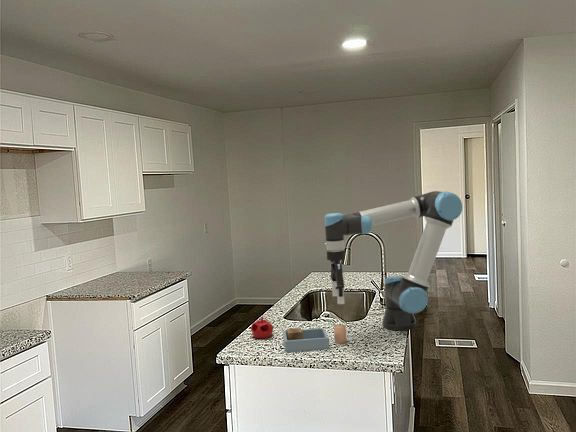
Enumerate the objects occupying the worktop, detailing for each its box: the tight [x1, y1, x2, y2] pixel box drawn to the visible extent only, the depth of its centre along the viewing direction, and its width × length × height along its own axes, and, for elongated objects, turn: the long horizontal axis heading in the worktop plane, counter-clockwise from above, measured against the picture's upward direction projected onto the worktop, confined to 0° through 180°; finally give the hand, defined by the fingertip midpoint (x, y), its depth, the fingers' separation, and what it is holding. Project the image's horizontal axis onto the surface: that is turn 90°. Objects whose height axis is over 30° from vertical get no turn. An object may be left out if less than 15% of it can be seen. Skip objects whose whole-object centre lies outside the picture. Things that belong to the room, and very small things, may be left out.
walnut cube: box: [286, 327, 303, 340], centre depth 218 cm, size 6×6×6 cm
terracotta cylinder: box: [333, 324, 348, 345], centre depth 219 cm, size 5×5×7 cm
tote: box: [282, 327, 330, 353], centre depth 218 cm, size 18×14×5 cm
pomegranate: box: [250, 316, 274, 339], centre depth 233 cm, size 10×10×9 cm
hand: (338, 300), depth 217 cm, fingers open, 13 cm apart
